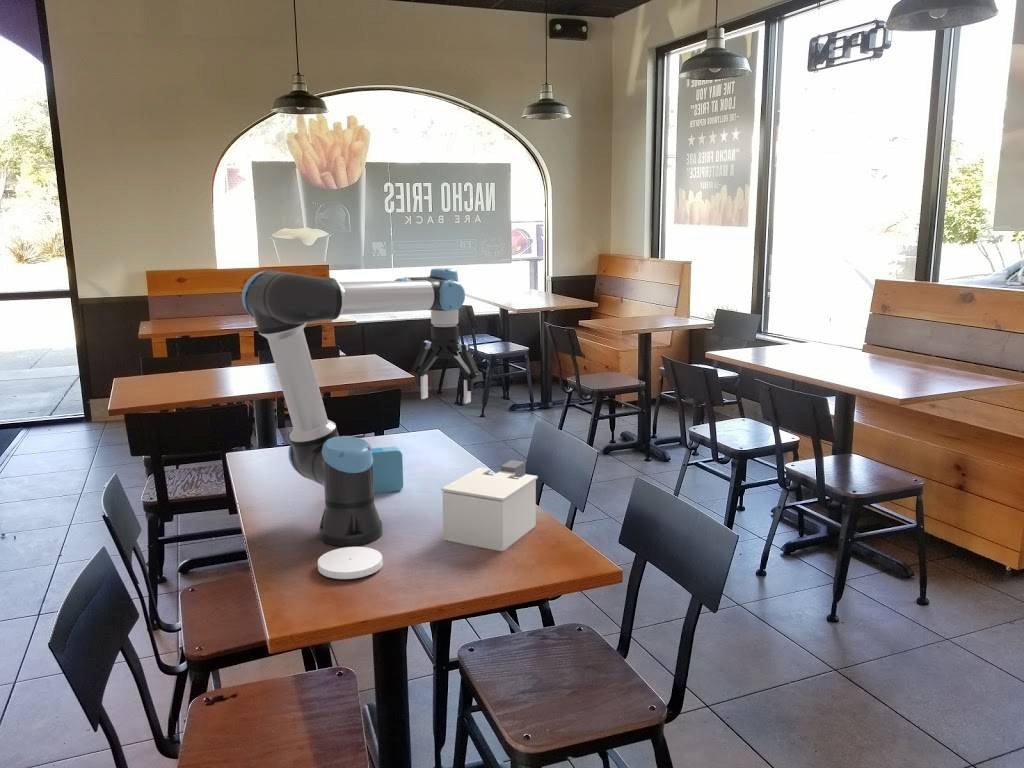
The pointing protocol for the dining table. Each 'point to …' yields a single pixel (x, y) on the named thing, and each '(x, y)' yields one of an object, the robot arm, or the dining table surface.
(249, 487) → the dining table surface
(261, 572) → the dining table surface
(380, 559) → the plastic lid
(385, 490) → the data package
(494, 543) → the carton
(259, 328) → the robot arm
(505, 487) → the carton flap
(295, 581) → the dining table surface
